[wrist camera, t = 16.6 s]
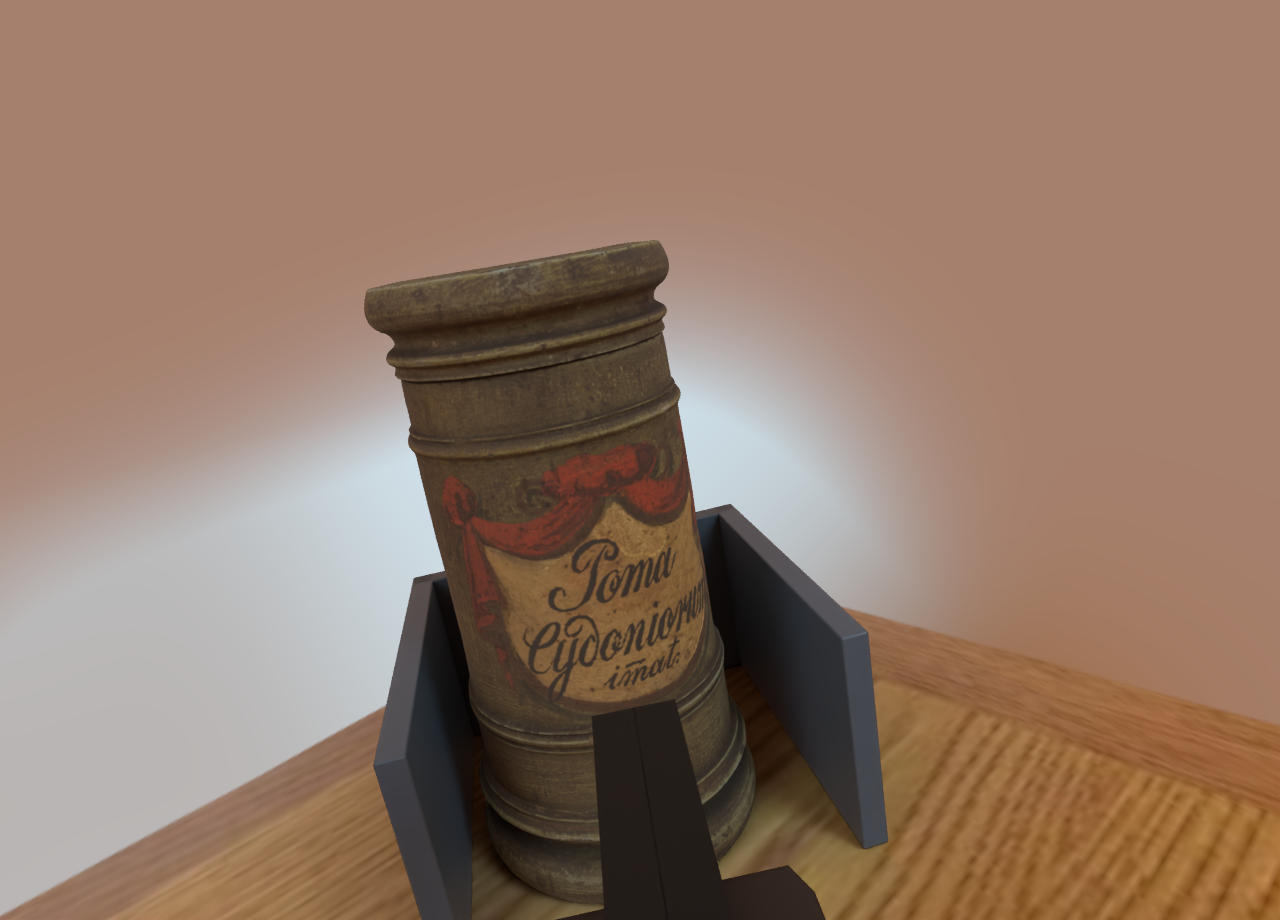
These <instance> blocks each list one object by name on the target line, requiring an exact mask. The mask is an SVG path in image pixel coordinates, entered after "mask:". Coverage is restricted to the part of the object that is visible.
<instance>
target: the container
mask: <svg viewBox="0 0 1280 920" xmlns="http://www.w3.org/2000/svg"><path fill="white" fill-rule="evenodd" d="M668 270H669V263H668V258H667V255H666V253H665V251H664V249H663V247H662V245H661V244H660V242H659V241H657V240H653V241H645V242H632V243H624V244H617V245H612V246H607V247H602V248H597V249H592V250H586V251H581V252H575V253H569V254H563V255H558V256H552V257H546V258H540V259H534V260H529V261H522V262H517V263H511V264H505V265H499V266H493V267H488V268H481V269H474V270H469V271H462V272H456V273H450V274H444V275H438V276H432V277H426V278H420V279H413V280H407V281H401V282H396V283H392V284H388V285H384V286H380V287H375V288H371V289H368V290H367V292H366V296H365V303H364V311H365V316H366V319H367V321H368V323H369V324H370V325H371V327H373V328H374V329H375V330H377V331H379V332H381V333H385V334H387V335H389V336H390V337H391V338H392V339H393V341H394V343H395V346H394V347H393V348H392V349H391V350H390V351H389V352H388V354H387V358H386V360H387V362H388V364H389V365H391V366H393V367H395V368H396V370H395V371H396V372H395V376H396V377H397V378H398V379H401V382H402V387H403V392H404V397H405V402H406V405H407V409H408V413H409V418H410V422H411V427H410V428H409V432H410V435H409V438H408V444H409V447H410V448H411V450H412V451H413V452H414V453H415V455H416V458H417V462H418V466H419V470H420V475H421V479H422V483H423V487H424V491H425V495H426V499H427V504H428V507H429V511H430V515H431V519H432V523H433V527H434V531H435V535H436V539H437V542H438V547H439V550H440V554H441V557H442V561H443V565H444V569H445V573H446V577H447V581H448V585H449V589H450V593H451V597H452V601H453V605H454V609H455V613H456V617H457V621H458V625H459V628H460V632H461V636H462V640H463V645H464V650H465V654H466V659H467V664H468V669H469V674H470V679H469V699H470V704H471V706H472V709H473V711H474V713H475V715H476V717H477V719H478V721H479V725H480V731H481V734H482V738H483V742H484V750H483V753H482V757H481V761H480V768H479V773H480V783H481V787H482V790H483V793H484V796H485V798H486V803H485V814H486V822H487V827H488V831H489V835H490V838H491V841H492V843H493V845H494V847H495V849H496V851H497V852H498V854H499V856H500V857H501V858H502V860H503V861H504V863H505V864H506V866H507V867H508V868H509V869H510V870H511V871H512V872H513V873H514V874H515V875H516V876H517V877H518V878H520V879H521V880H522V881H524V882H525V883H527V884H528V885H530V886H531V887H533V888H535V889H537V890H539V891H541V892H543V893H545V894H548V895H550V896H553V897H556V898H559V899H563V900H567V901H573V902H579V903H591V904H604V898H603V883H602V868H601V853H600V838H599V822H598V807H597V792H596V777H595V762H594V747H593V732H592V717H591V716H595V715H600V714H605V713H610V712H614V711H619V710H624V709H629V708H634V707H638V706H643V705H648V704H653V703H657V702H662V701H667V700H672V699H675V701H676V704H677V708H678V712H679V716H680V720H681V724H682V728H683V732H684V735H685V739H686V743H687V747H688V751H689V755H690V759H691V763H692V766H693V770H694V774H695V778H696V782H697V786H698V790H699V793H700V797H701V801H702V805H703V809H704V813H705V817H706V821H707V824H708V828H709V832H710V836H711V840H712V844H713V848H714V852H715V855H716V859H717V861H718V860H719V859H721V858H722V857H723V856H724V855H725V854H726V853H727V852H728V851H729V849H730V848H731V847H732V845H733V844H734V843H735V842H736V840H737V839H738V837H739V836H740V834H741V833H742V831H743V829H744V827H745V825H746V823H747V821H748V818H749V816H750V812H751V809H752V804H753V800H754V794H755V786H756V772H755V766H754V761H753V757H752V754H751V751H750V748H749V746H748V743H747V742H746V728H745V722H744V719H743V715H742V713H741V711H740V709H739V707H738V706H737V704H736V703H735V701H734V700H733V699H732V698H731V696H730V695H729V694H728V692H727V686H726V679H725V673H724V667H723V665H724V661H723V660H724V646H723V642H722V639H721V637H720V634H719V631H718V629H717V628H716V626H715V625H714V623H713V619H712V612H711V605H710V600H709V592H708V586H707V579H706V573H705V565H704V559H703V553H702V548H701V543H700V536H699V531H698V524H697V519H696V512H695V506H694V499H693V491H692V485H691V479H690V473H689V468H688V461H687V455H686V449H685V443H684V438H683V432H682V426H681V420H680V415H679V409H678V401H679V398H680V389H679V388H678V387H677V385H676V384H675V381H674V379H673V378H672V377H671V375H670V369H669V363H668V358H667V352H666V346H665V341H664V337H663V333H662V331H663V330H664V328H665V326H664V323H663V322H662V318H663V317H664V316H665V314H666V312H667V309H666V307H665V305H664V304H662V303H660V302H658V301H656V300H655V299H654V291H655V289H656V287H657V286H658V285H659V284H660V283H662V282H663V280H664V279H665V278H666V276H667V273H668Z"/></svg>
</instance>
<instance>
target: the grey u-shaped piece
mask: <svg viewBox="0 0 1280 920" xmlns="http://www.w3.org/2000/svg"><path fill="white" fill-rule="evenodd" d="M696 519H697V524H698V531H699V536H700V543H701V548H702V553H703V559H704V565H705V573H706V579H707V586H708V592H709V600H710V605H711V612H712V619H713V623H714V625H715V626H716V628H717V629H718V631H719V634H720V637H721V639H722V642H723V646H724V660H723V661H724V665H723V667H724V668H726V667H730V666H734V665H737V664H742V666H743V667H744V669H745V670H746V672H747V673H748V675H749V676H750V678H751V679H752V681H753V682H754V684H755V685H756V687H757V688H758V690H759V691H760V693H761V694H762V696H763V697H764V699H765V700H766V702H767V703H768V705H769V706H770V708H771V709H772V711H773V712H774V714H775V715H776V717H777V718H778V720H779V721H780V723H781V724H782V726H783V727H784V729H785V730H786V732H787V733H788V735H789V736H790V738H791V739H792V741H793V742H794V744H795V745H796V747H797V748H798V750H799V751H800V753H801V754H802V756H803V757H804V759H805V760H806V762H807V764H808V765H809V767H810V768H811V770H812V771H813V773H814V774H815V776H816V777H817V779H818V780H819V782H820V783H821V785H822V786H823V788H824V789H825V791H826V792H827V794H828V795H829V797H830V798H831V800H832V801H833V803H834V804H835V806H836V807H837V809H838V810H839V812H840V813H841V815H842V816H843V818H844V819H845V821H846V822H847V824H848V825H849V827H850V828H851V830H852V831H853V833H854V834H855V836H856V837H857V839H858V840H859V842H860V843H861V845H862V846H863V848H864V849H867V848H870V847H873V846H876V845H879V844H882V843H886V842H887V841H888V835H887V824H886V814H885V803H884V793H883V783H882V772H881V762H880V751H879V741H878V731H877V720H876V710H875V699H874V689H873V679H872V668H871V658H870V647H869V637H868V632H867V631H866V630H865V629H864V628H863V627H862V626H861V625H860V624H859V623H858V622H857V621H856V620H855V619H854V618H853V617H851V616H850V615H849V614H848V613H847V612H846V611H845V610H844V609H843V608H842V607H841V606H840V605H839V604H837V603H836V602H835V601H834V600H833V599H832V598H831V597H830V596H829V595H828V594H827V593H826V592H825V591H824V590H822V589H821V588H820V587H819V586H818V585H817V584H816V583H815V582H814V581H813V580H812V579H811V578H810V577H808V576H807V575H806V574H805V573H804V572H803V571H802V570H801V569H800V568H799V567H798V566H797V565H796V564H794V563H793V562H792V561H791V560H790V559H789V558H788V557H787V556H786V555H785V554H784V553H783V552H782V551H781V550H779V549H778V548H777V547H776V546H775V545H774V544H773V543H772V542H771V541H770V540H769V539H768V538H767V537H766V536H764V535H763V534H762V533H761V532H760V531H759V530H758V529H757V528H756V527H755V526H754V525H753V524H752V523H751V522H749V521H748V520H747V519H746V518H745V517H744V516H743V515H742V514H741V513H740V512H739V511H738V510H737V509H735V508H734V507H733V506H732V505H731V504H728V505H724V506H720V507H715V508H711V509H707V510H703V511H698V512H696ZM469 679H470V674H469V669H468V664H467V659H466V654H465V650H464V645H463V640H462V636H461V632H460V628H459V625H458V621H457V617H456V613H455V609H454V605H453V601H452V597H451V593H450V589H449V585H448V581H447V577H446V573H445V571H443V572H439V573H434V574H429V575H425V576H421V577H416V578H414V580H413V585H412V589H411V594H410V598H409V603H408V607H407V612H406V617H405V622H404V626H403V631H402V635H401V640H400V644H399V649H398V654H397V658H396V663H395V667H394V672H393V677H392V682H391V687H390V690H389V695H388V700H387V704H386V709H385V714H384V718H383V723H382V727H381V732H380V737H379V741H378V746H377V751H376V755H375V760H374V764H373V766H374V769H375V773H376V776H377V779H378V782H379V785H380V789H381V792H382V795H383V798H384V801H385V805H386V808H387V811H388V814H389V817H390V820H391V824H392V827H393V830H394V833H395V836H396V840H397V843H398V846H399V849H400V852H401V855H402V859H403V862H404V865H405V868H406V871H407V875H408V878H409V881H410V884H411V887H412V890H413V894H414V897H415V900H416V903H417V906H418V910H419V913H420V916H421V919H422V920H471V900H472V829H473V758H474V735H477V734H480V733H481V731H480V725H479V721H478V719H477V717H476V715H475V713H474V711H473V709H472V706H471V704H470V699H469Z"/></svg>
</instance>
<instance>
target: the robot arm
mask: <svg viewBox="0 0 1280 920" xmlns="http://www.w3.org/2000/svg"><path fill="white" fill-rule="evenodd" d="M591 717H592V732H593V747H594V762H595V777H596V792H597V807H598V822H599V838H600V853H601V868H602V883H603V898H604V909H601V910H597V911H592V912H588V913H583V914H579V915H574V916H570V917H565V918H561V919H557V920H826V919H825V917H824V914H823V912H822V909H821V907H820V904H819V902H818V899H817V897H816V894H815V892H814V891H813V890H812V889H811V888H810V887H809V886H808V885H807V884H806V883H805V882H804V881H803V880H802V879H801V878H800V877H799V876H798V875H797V874H796V873H795V872H794V871H793V870H792V869H791V868H790V867H789V866H783V867H779V868H774V869H770V870H765V871H761V872H756V873H752V874H747V875H743V876H738V877H734V878H729V879H725V880H722V879H721V875H720V871H719V867H718V863H717V859H716V855H715V852H714V848H713V844H712V840H711V836H710V832H709V828H708V824H707V821H706V817H705V813H704V809H703V805H702V801H701V797H700V793H699V790H698V786H697V782H696V778H695V774H694V770H693V766H692V763H691V759H690V755H689V751H688V747H687V743H686V739H685V735H684V732H683V728H682V724H681V720H680V716H679V712H678V708H677V704H676V701H675V699H672V700H667V701H662V702H657V703H653V704H648V705H643V706H638V707H634V708H629V709H624V710H619V711H614V712H610V713H605V714H600V715H595V716H591Z"/></svg>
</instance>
